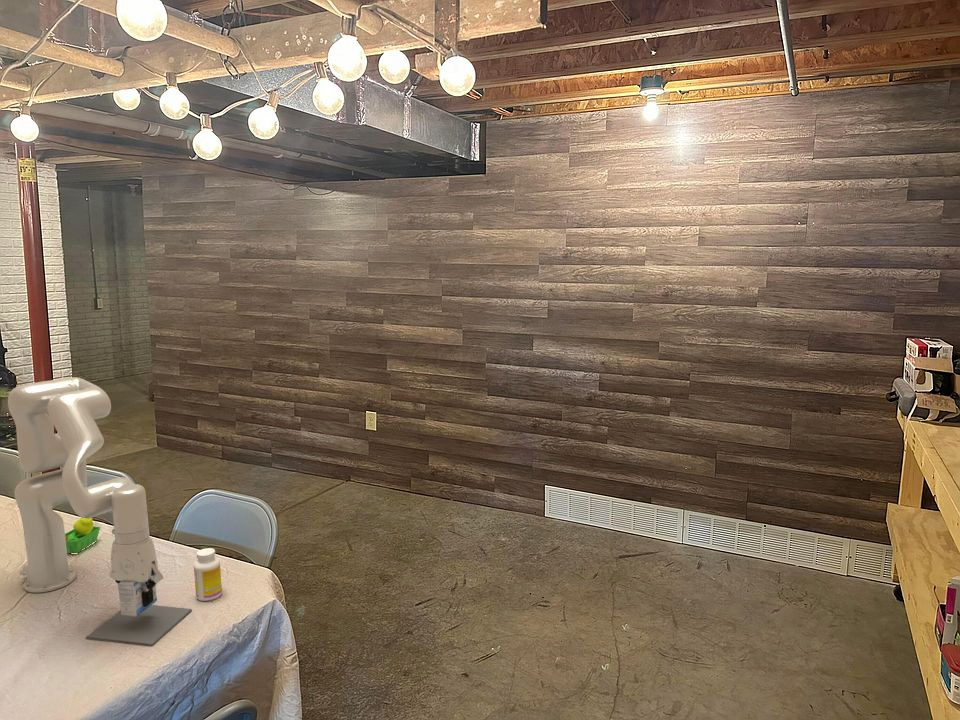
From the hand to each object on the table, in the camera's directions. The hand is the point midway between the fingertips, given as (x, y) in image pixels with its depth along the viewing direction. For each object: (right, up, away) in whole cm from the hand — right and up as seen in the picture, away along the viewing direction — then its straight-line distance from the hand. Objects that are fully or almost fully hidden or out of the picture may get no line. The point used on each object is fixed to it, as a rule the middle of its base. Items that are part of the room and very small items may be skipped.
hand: (138, 602), depth 168 cm
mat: (0, -6, +1) cm, 6 cm away
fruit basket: (-41, +1, +44) cm, 60 cm away
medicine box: (0, -2, 0) cm, 2 cm away
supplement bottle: (+12, -4, +15) cm, 19 cm away
